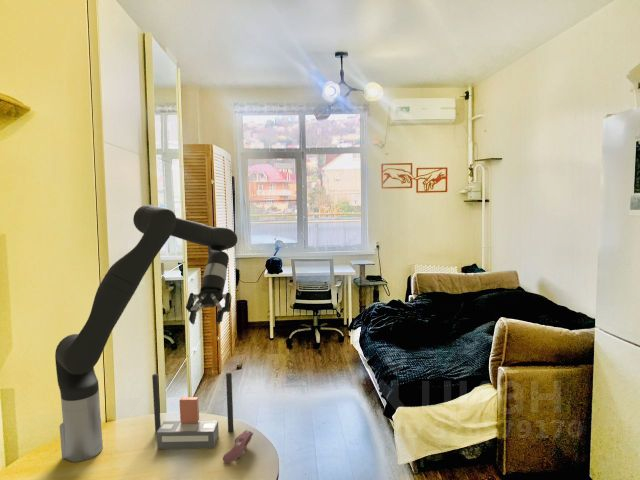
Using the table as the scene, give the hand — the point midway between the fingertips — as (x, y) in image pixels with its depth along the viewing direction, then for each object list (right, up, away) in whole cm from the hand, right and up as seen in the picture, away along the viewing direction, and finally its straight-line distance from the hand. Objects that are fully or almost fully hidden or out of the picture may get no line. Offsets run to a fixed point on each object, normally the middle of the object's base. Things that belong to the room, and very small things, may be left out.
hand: (204, 322), depth 140 cm
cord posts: (-1, -31, -8) cm, 32 cm away
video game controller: (+15, -33, -19) cm, 41 cm away
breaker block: (-1, -32, -13) cm, 35 cm away
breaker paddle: (-1, -27, -12) cm, 29 cm away
